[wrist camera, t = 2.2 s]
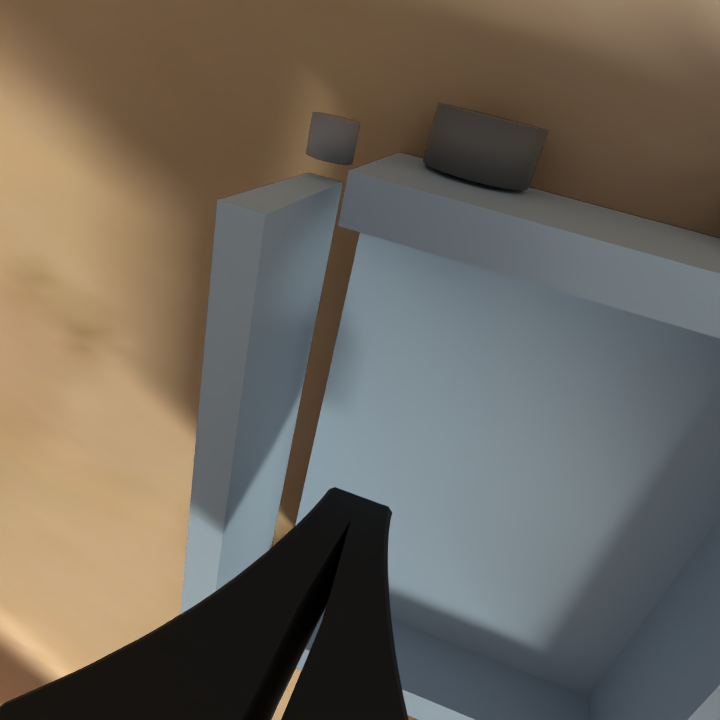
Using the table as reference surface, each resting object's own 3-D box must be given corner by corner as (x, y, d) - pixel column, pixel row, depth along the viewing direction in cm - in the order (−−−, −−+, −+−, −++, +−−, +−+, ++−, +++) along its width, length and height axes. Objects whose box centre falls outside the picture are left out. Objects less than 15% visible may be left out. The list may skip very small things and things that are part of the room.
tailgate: (342, 182, 11) (265, 214, 8) (265, 577, 17) (201, 695, 14) (298, 170, 12) (203, 196, 8) (237, 566, 18) (167, 679, 14)
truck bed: (914, 222, 11) (1210, 308, 6) (586, 678, 19) (609, 872, 14) (354, 80, 13) (255, 63, 8) (264, 552, 21) (187, 686, 16)
